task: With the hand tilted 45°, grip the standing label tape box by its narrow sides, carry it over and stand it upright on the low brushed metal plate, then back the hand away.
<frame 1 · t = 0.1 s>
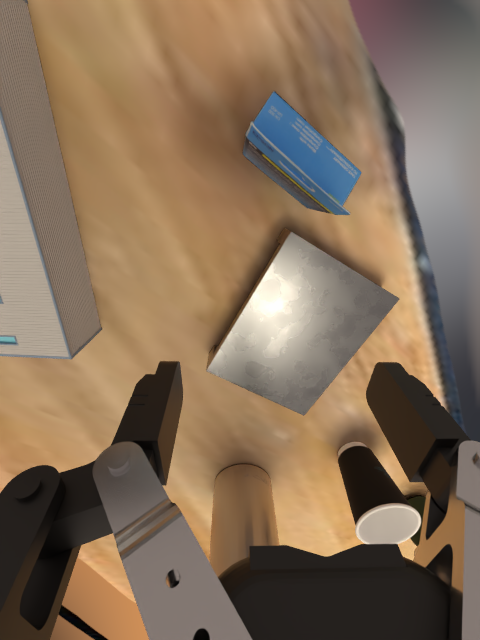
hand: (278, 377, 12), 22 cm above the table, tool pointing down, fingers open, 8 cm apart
brushed metal plate: (291, 322, 35), on the table
dixie cup: (352, 451, 44), on the table
character mug: (409, 503, 50), on the table
label tape box: (285, 168, 29), on the table
warehouse: (6, 199, 30), on the table
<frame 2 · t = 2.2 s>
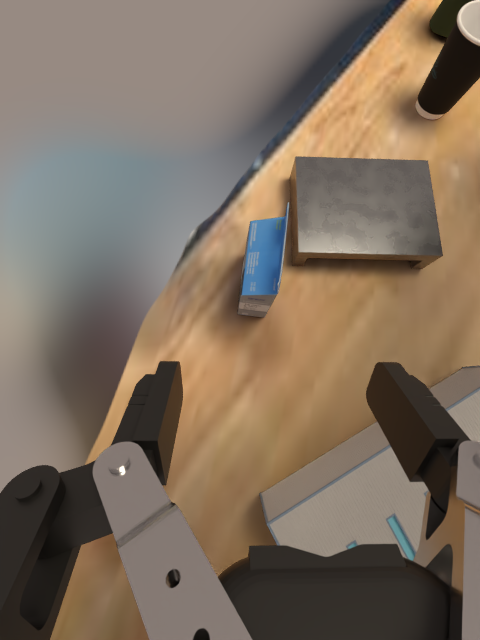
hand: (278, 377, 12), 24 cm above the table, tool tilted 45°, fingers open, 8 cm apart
brushed metal plate: (353, 221, 40), on the table
dixie cup: (429, 108, 45), on the table
character mug: (444, 32, 49), on the table
label tape box: (255, 286, 38), on the table
warehouse: (398, 482, 33), on the table
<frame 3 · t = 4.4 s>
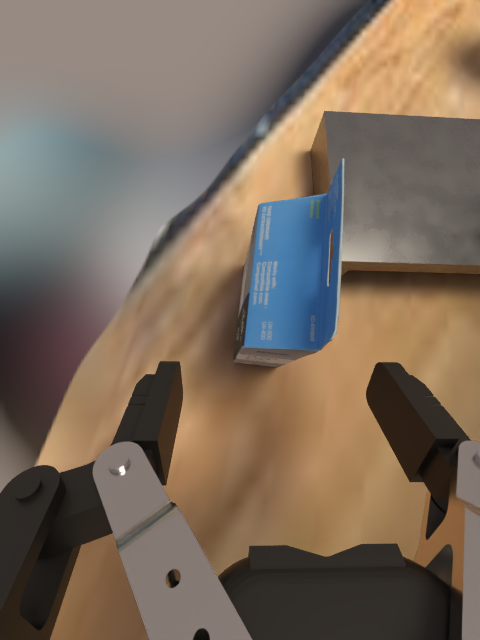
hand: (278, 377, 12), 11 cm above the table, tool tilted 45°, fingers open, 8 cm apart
brushed metal plate: (408, 215, 27), on the table
label tape box: (262, 314, 24), on the table
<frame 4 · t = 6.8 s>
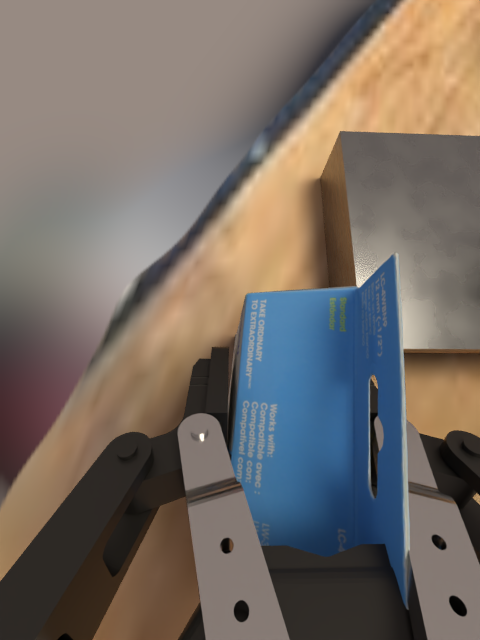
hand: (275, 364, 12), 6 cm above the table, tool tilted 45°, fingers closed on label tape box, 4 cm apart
brushed metal plate: (449, 261, 20), on the table
label tape box: (260, 404, 18), on the table, touching gripper
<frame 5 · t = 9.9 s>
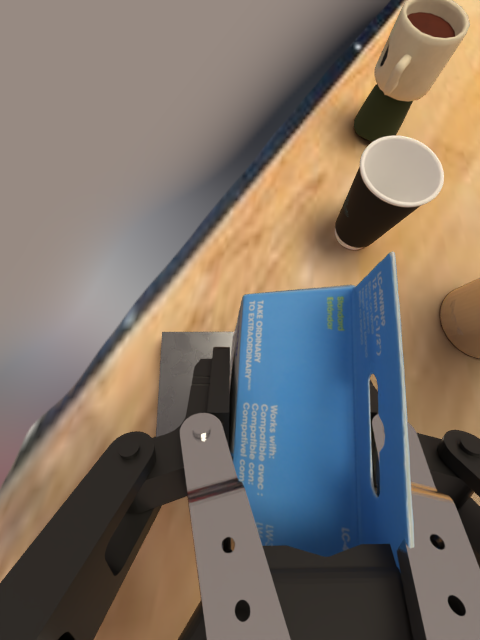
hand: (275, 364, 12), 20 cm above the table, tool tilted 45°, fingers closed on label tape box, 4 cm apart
brushed metal plate: (249, 401, 31), on the table
dixie cup: (351, 234, 37), on the table
character mug: (372, 131, 41), on the table
label tape box: (259, 403, 18), point 14 cm above the table, touching gripper
when the fingers open (11 cm above the table, at t = 13.0 s): label tape box stays where it is, resting on brushed metal plate.
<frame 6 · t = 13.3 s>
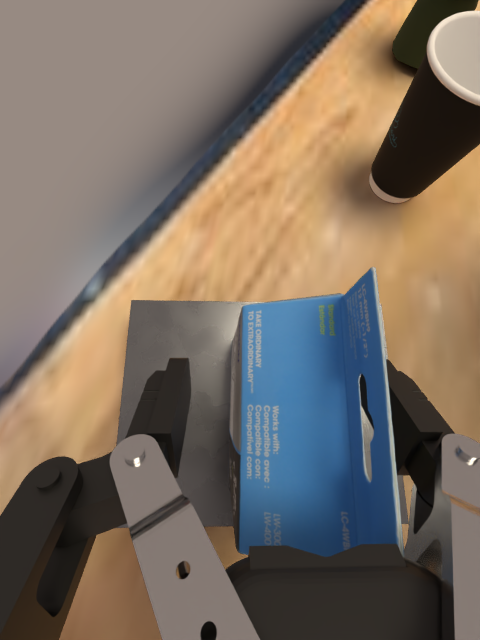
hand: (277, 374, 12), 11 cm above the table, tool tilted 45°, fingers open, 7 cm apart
brushed metal plate: (254, 401, 22), on the table
dixie cup: (391, 183, 28), on the table
character mug: (415, 59, 32), on the table
label tape box: (260, 404, 19), point 4 cm above the table, touching brushed metal plate
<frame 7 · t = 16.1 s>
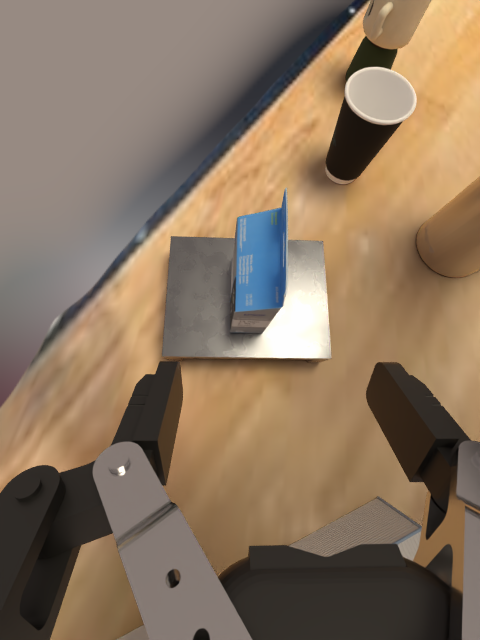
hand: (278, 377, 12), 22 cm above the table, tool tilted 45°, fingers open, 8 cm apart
brushed metal plate: (245, 305, 35), on the table
dixie cup: (340, 171, 41), on the table
character mug: (362, 85, 46), on the table
label tape box: (248, 296, 32), point 4 cm above the table, touching brushed metal plate
warehouse: (282, 638, 28), on the table
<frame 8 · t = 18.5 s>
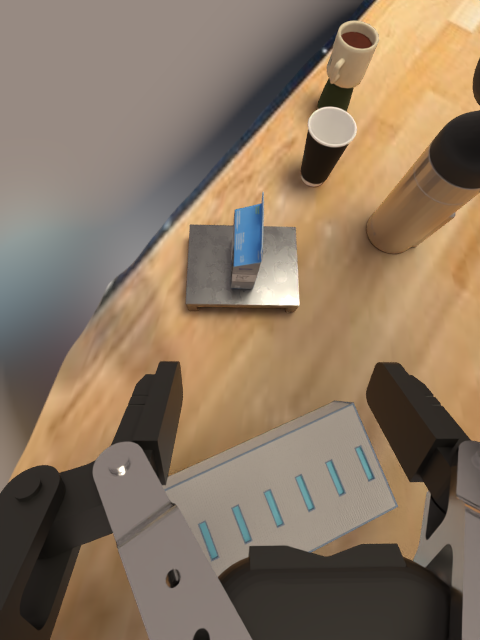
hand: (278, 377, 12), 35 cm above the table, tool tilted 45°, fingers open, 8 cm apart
brushed metal plate: (242, 273, 50), on the table
dixie cup: (312, 177, 56), on the table
character mug: (330, 110, 60), on the table
label tape box: (243, 264, 46), point 4 cm above the table, touching brushed metal plate
warehouse: (267, 486, 42), on the table
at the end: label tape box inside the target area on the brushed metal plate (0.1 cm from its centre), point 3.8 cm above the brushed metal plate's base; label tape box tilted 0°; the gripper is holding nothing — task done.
